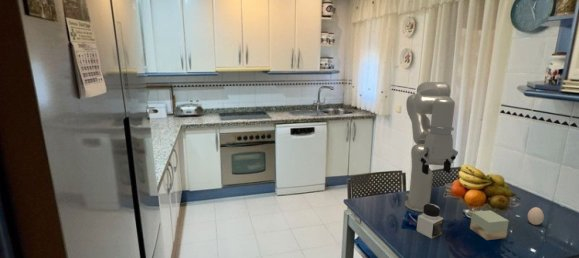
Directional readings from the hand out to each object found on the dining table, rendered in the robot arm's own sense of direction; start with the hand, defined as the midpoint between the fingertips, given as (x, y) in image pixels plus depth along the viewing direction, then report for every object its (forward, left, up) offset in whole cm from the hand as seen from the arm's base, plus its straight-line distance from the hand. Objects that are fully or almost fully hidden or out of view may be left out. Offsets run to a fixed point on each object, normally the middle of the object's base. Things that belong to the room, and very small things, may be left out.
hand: (435, 172), depth 123 cm
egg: (+3, +50, -26) cm, 57 cm away
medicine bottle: (0, 0, -26) cm, 26 cm away
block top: (+5, +24, -23) cm, 33 cm away
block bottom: (+5, +24, -27) cm, 36 cm away
